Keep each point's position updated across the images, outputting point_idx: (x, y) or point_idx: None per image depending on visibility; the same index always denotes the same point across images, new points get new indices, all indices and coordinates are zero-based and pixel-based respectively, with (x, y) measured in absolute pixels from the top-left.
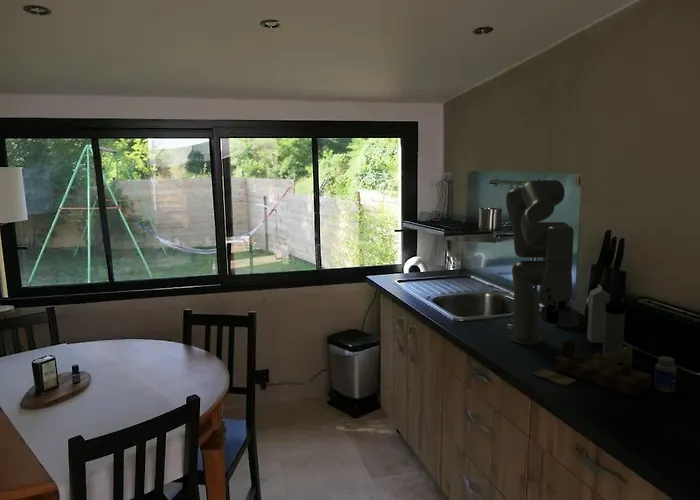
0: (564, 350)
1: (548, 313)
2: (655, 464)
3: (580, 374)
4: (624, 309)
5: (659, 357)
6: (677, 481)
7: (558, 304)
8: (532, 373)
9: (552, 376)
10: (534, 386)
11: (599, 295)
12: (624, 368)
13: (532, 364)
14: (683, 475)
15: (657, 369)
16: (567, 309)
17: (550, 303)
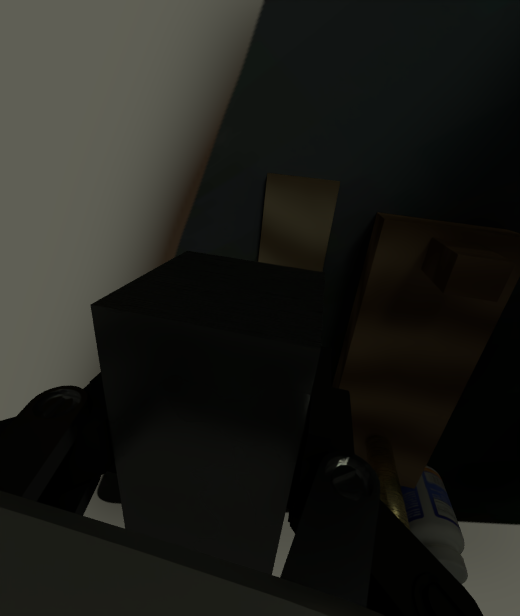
0: (439, 252)
1: (90, 387)
2: (108, 473)
3: (352, 316)
4: None
5: (442, 561)
6: (97, 490)
7: (312, 486)
8: (267, 176)
9: (288, 246)
10: (192, 228)
11: None
12: (368, 456)
13: (373, 114)
14: (114, 495)
15: (412, 521)
16: (240, 548)
17: (37, 493)
